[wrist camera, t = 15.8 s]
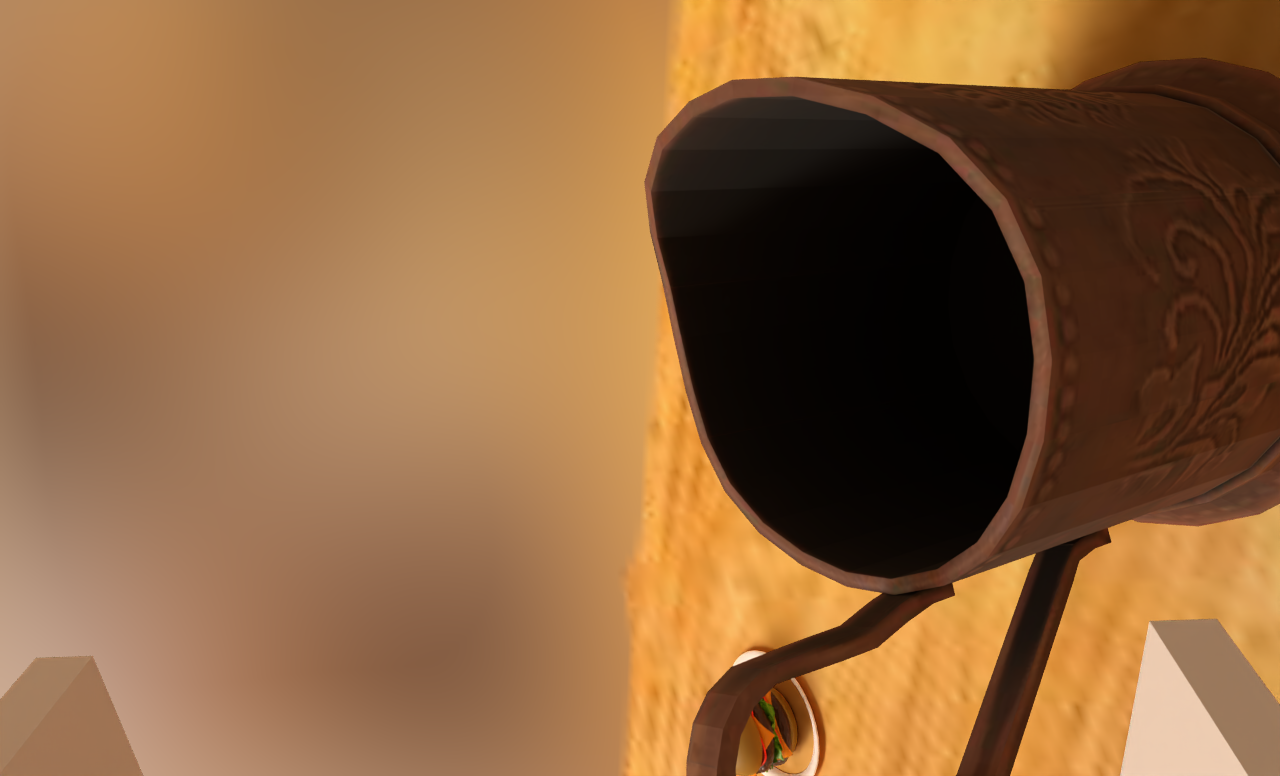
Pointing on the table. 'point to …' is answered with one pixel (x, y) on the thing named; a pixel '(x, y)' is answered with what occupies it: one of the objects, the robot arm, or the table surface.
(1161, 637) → the robot arm
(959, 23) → the table surface
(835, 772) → the table surface
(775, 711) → the hamburger
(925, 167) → the brown pitcher
